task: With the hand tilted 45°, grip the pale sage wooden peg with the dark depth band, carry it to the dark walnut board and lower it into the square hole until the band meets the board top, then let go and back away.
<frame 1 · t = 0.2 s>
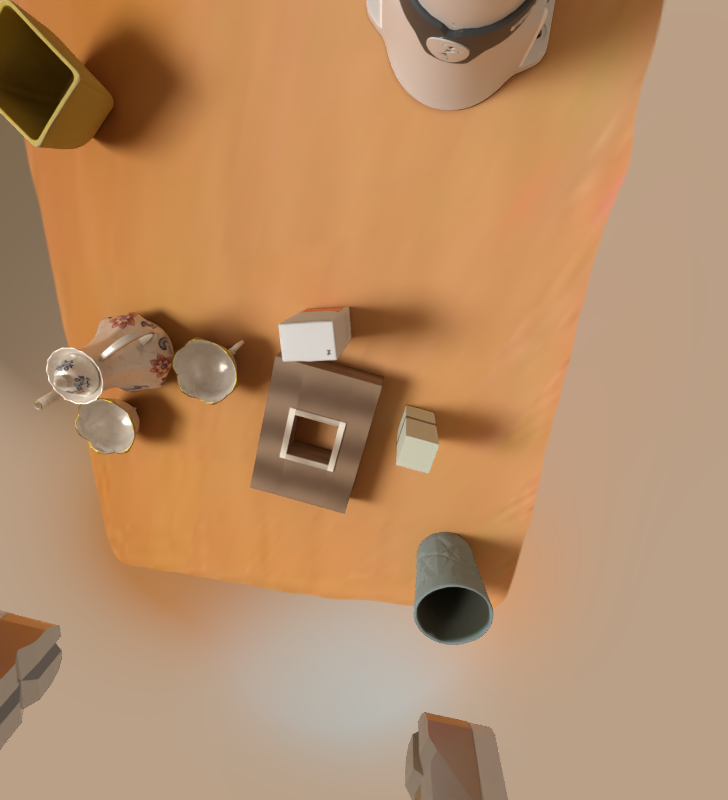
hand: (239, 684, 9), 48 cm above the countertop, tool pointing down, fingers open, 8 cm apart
blue-grey embossed planter: (445, 552, 66), on the countertop
sage peg: (415, 421, 58), on the countertop
flower pot: (88, 105, 49), on the countertop
skincare box: (328, 322, 55), on the countertop
socket board: (318, 427, 60), on the countertop
chinaware: (159, 366, 60), on the countertop
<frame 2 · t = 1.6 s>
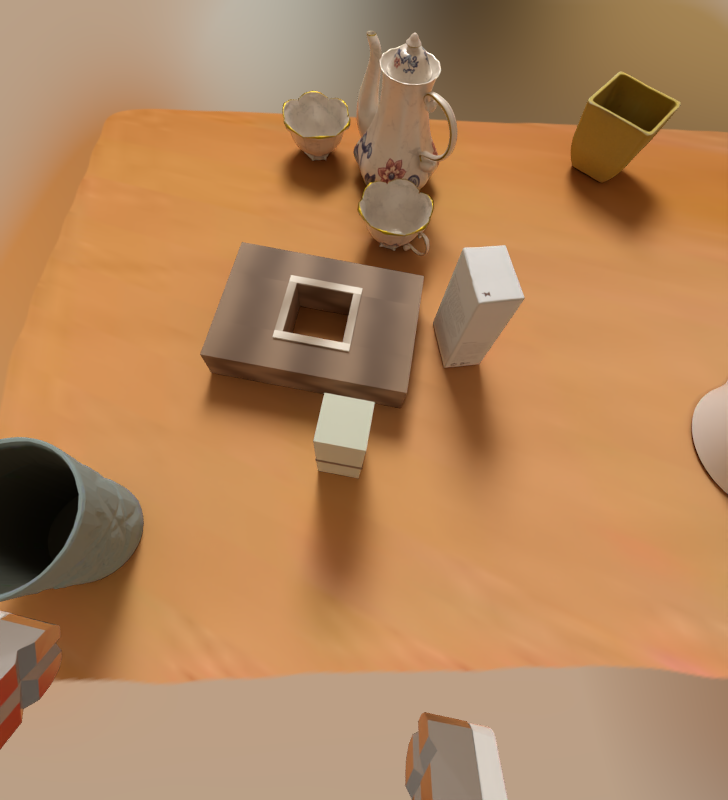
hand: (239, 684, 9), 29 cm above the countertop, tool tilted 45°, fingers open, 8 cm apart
blue-grey embossed planter: (97, 532, 37), on the countertop
sage peg: (342, 454, 41), on the countertop
flower pot: (592, 167, 60), on the countertop
skincare box: (455, 343, 47), on the countertop
socket board: (320, 333, 46), on the countertop
chinaware: (374, 186, 56), on the countertop
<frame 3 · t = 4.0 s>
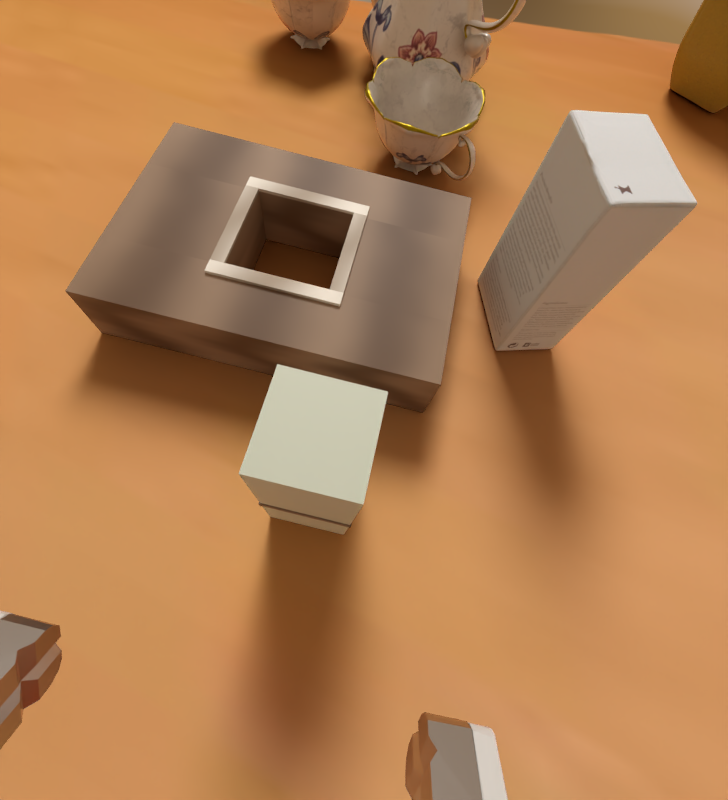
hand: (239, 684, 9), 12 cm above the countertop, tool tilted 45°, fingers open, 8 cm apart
sage peg: (316, 489, 23), on the countertop
flower pot: (696, 95, 43), on the countertop
skincare box: (511, 315, 29), on the countertop
socket board: (295, 282, 28), on the countertop
chinaware: (390, 89, 38), on the countertop
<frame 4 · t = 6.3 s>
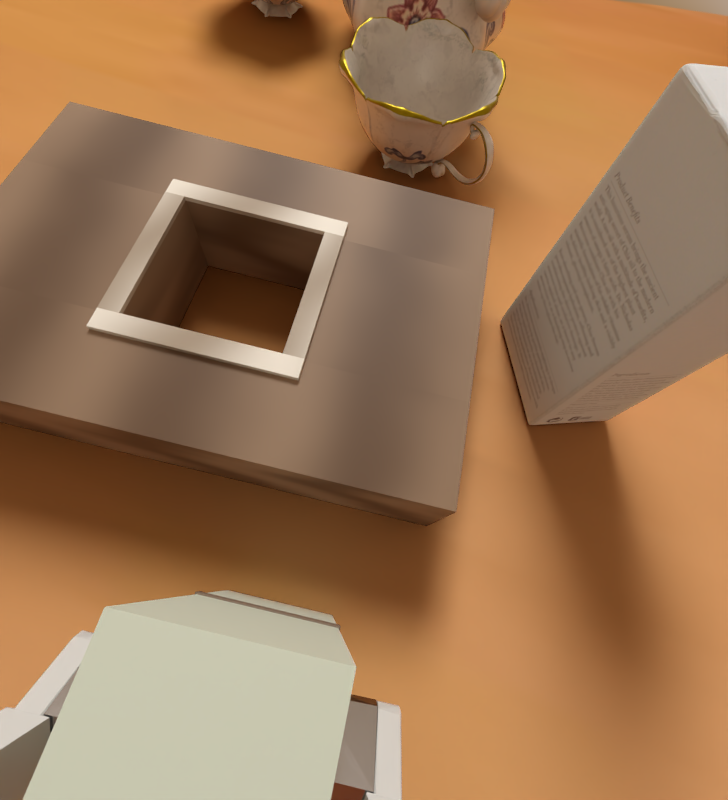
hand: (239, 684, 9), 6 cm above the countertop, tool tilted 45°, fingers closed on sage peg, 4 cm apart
sage peg: (263, 663, 15), on the countertop, touching gripper
skincare box: (548, 370, 21), on the countertop
socket board: (246, 328, 20), on the countertop
chinaware: (378, 68, 30), on the countertop
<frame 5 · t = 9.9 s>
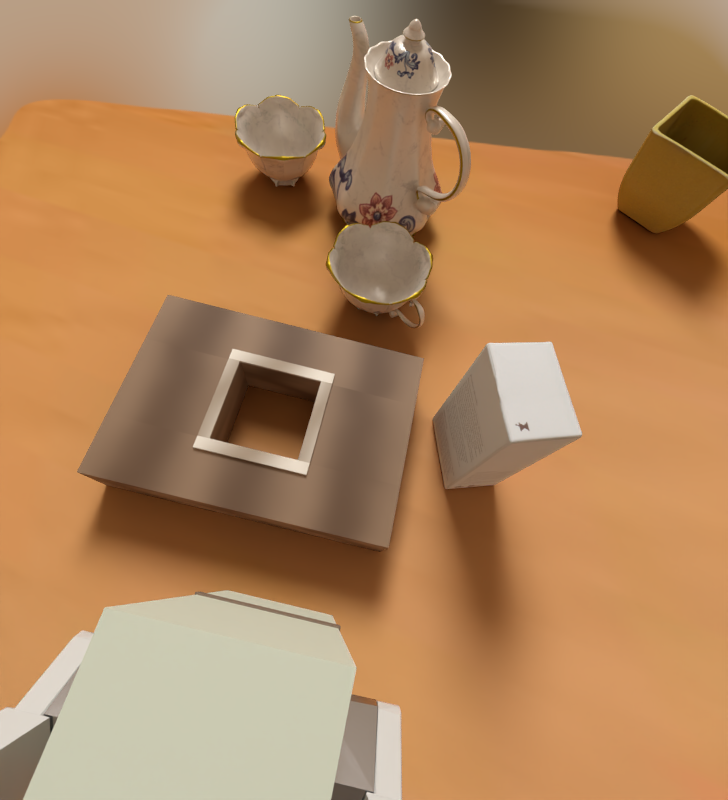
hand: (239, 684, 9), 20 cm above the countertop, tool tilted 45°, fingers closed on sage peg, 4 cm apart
sage peg: (263, 664, 15), point 14 cm above the countertop, touching gripper
flower pot: (642, 213, 47), on the countertop
skincare box: (461, 451, 34), on the countertop
socket board: (273, 428, 33), on the countertop
chinaware: (356, 224, 42), on the countertop
when the fingers open (7 cm above the countertop, at t = 13.7 s): sage peg stays where it is, resting in socket board.
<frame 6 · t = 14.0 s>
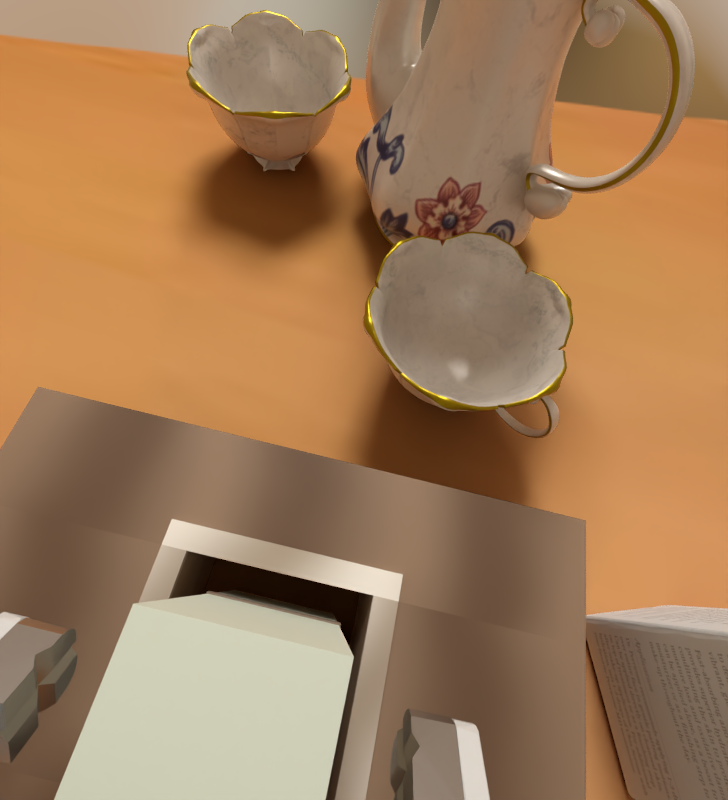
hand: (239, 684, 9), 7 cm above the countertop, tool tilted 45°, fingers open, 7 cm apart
sage peg: (268, 659, 16), resting in socket board
skincare box: (643, 687, 17), on the countertop
socket board: (265, 658, 16), on the countertop
chinaware: (399, 234, 25), on the countertop
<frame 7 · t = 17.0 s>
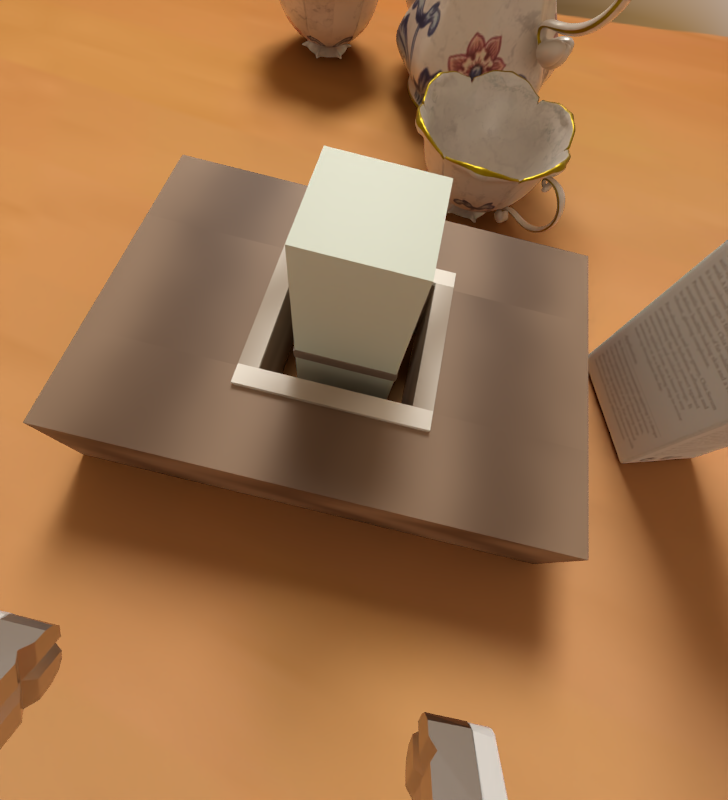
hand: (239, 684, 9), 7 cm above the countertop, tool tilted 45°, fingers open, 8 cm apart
sage peg: (349, 370, 21), resting in socket board
skincare box: (632, 407, 22), on the countertop
socket board: (346, 369, 21), on the countertop
chinaware: (429, 108, 30), on the countertop
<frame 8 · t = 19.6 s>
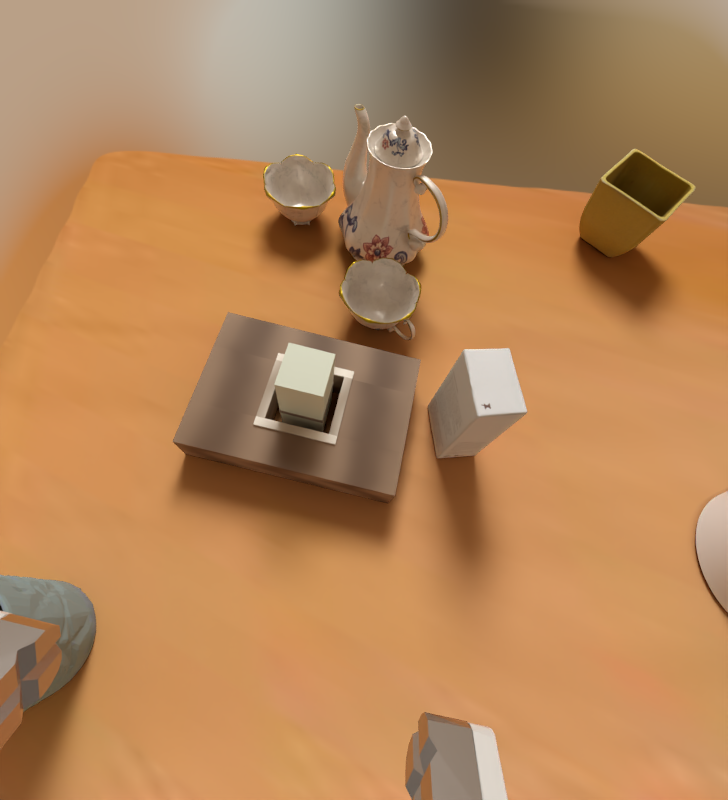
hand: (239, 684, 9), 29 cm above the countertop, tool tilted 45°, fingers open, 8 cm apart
blue-grey embossed planter: (43, 639, 33), on the countertop
sage peg: (307, 413, 43), resting in socket board
flower pot: (601, 240, 58), on the countertop
skincare box: (449, 430, 44), on the countertop
socket board: (306, 413, 43), on the countertop
chinaware: (360, 255, 52), on the countertop
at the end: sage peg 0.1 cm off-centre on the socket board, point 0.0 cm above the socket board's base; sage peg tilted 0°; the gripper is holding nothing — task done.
